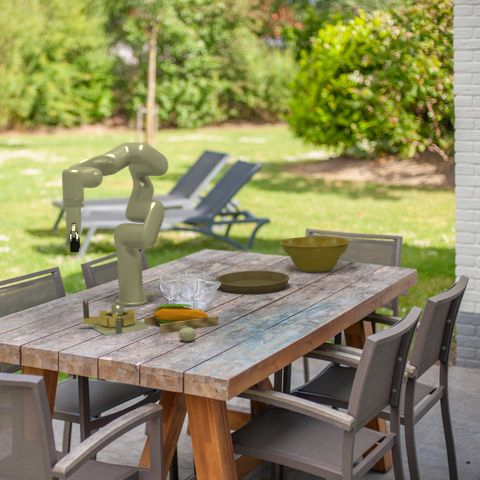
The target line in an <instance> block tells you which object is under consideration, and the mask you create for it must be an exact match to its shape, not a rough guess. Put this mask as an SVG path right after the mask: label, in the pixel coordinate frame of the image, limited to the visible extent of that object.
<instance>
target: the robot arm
mask: <svg viewBox="0 0 480 480" xmlns="http://www.w3.org/2000/svg"><path fill="white" fill-rule="evenodd" d="M126 167H128V171H129V173H130V174H129V175H130V176H131V180H132V184H133V185H132V189H131V193H130V196H129V199H128V202H127V205H126V208H125V211H124V212H125V213H124V215H125V218H126V220H128V221H129V222H128V223H127V222H124V223H120V224H118V225H117V226H115V228H114V231H113V242H114V245H115V249H116V261H117V278H118V280H117V282H118V298H117V299H115V301H114V302H115V303H114V304H122V305H123V307H127V306H128V307H130V306H132V307H134V306H141V305H145V304H147V303H148V297H154V296H156V292H155V290H147V291H146V290H144V284H143V282H144V281H143V280H144V279H143V259H142V254H141V252H140V250H139V249H142V250H143V249H145V250H147V249H152V248H153V247H154V246H155V245H156V243H157V240H158V238H159V234H160V231H161V229H162V225H163V222H164V219H165V213H166V211H165V205H164V204H163V202H162V201H161V200H158V199H156V198H155V199H154V198H153V197H154V193H155V188H154V185H153V182H152V180H151V179H150V177H162V176H164V175H166V173H167V172H168V169H169V162H168V159H167V157H166V156H165V154H163V153H162V152H161V151H158V149H156V148H155V147H153V146H152V145H150V144H148V143H147V142H146V143H145V142H124V143H121V144H119V145H117V146H116V147H114V148H112V149H110V150H109V151H107V152H105V153H103V154H99V155H96V156H93V157H90V158H86V159H83V160H80V161H79V162H76V163H75V164H73V165H72V166H69V168H66V169H65V168H64V169H63V170H62V172H61V179H62V180H61V181H62V182H61V184H62V187H61V188H62V207H63V209H65V230H66V231H65V232H66V234H65V235H66V236H70V237H69V238H70V241H69V253H79V252H80V250H81V238H80V235H81V231H82V208H85V191H84V190H85V189H96V188H97V187H100V185H101V184H102V183H103V181H104V177H108V176H112V175H116V174H117V173H118V172H120V171H122V170H124V169H125V168H126ZM84 188H85V189H84Z"/></svg>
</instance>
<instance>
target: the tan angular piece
mask: <svg viewBox="0 0 480 480" xmlns="http://www.w3.org/2000/svg"><path fill="white" fill-rule="evenodd" d="M82 312H83V313H82V314H83V318H82V324H83V325H88V324H100V325H103V326H107V327H108V326H109V327H116V321H115V320H117V319H121V320H122V326H127V325H131V324H133V323H135V322H136V319H137V315H136V314H137V312H136V309H133V308H132V309H127V310H126V309H123V316H121V317H118V313H113V314H112V311H111V310H107V309H99V312H98V313H99V315H98V316H90V307H89V300H88V299H87V300H82ZM112 316H113V317H112Z"/></svg>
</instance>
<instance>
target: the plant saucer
mask: <svg viewBox="0 0 480 480" xmlns="http://www.w3.org/2000/svg"><path fill="white" fill-rule="evenodd" d="M214 281H215V282H216V281H219V282H221V286H219V287H220V288H221V290H222V291H224V292H228V293H233V294H241V295H243V294H244V295H245V294H247V295H251V294H252V295H253V294H254V295H255V294H267V293H273V292H277V291H281V290H282V289H283V288H285V286H286V284H288V282H289V281H290V276H289V275H288V274H286V273H284V272H278V271H273V270H272V271H271V270H244V271H243V270H242V271H233V272H229V273H225V274H224V273H223V274H220V275H219V276H217V277H215V280H214Z"/></svg>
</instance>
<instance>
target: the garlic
mask: <svg viewBox="0 0 480 480" xmlns="http://www.w3.org/2000/svg"><path fill="white" fill-rule="evenodd" d="M183 327H186V328H183ZM182 328H183V329H181V330H180V331H178V337H179V339H180V340H181V341H183V342H188V343H189V342H193V341H194V340H195V339H196V337H197V336H196V335H197V334H196V331H195V328H194V329H192V328H190V327H187V326H182Z"/></svg>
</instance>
